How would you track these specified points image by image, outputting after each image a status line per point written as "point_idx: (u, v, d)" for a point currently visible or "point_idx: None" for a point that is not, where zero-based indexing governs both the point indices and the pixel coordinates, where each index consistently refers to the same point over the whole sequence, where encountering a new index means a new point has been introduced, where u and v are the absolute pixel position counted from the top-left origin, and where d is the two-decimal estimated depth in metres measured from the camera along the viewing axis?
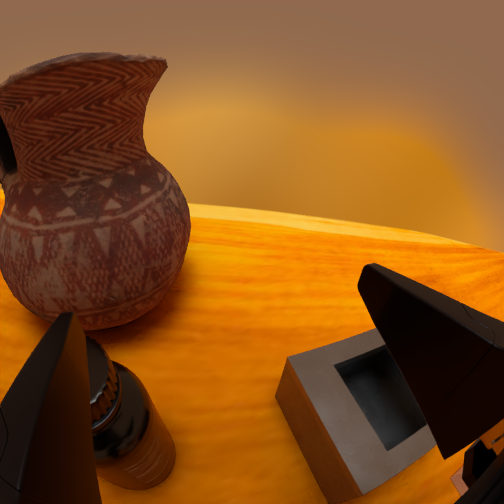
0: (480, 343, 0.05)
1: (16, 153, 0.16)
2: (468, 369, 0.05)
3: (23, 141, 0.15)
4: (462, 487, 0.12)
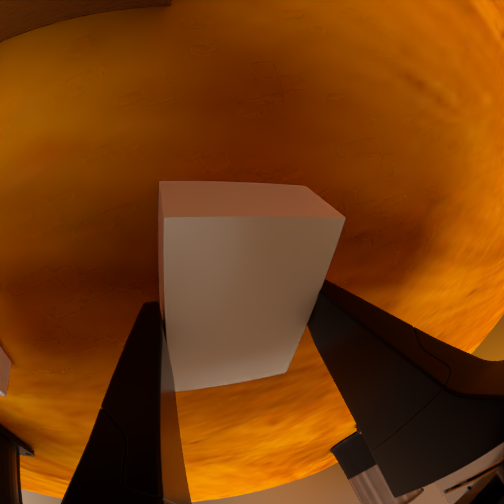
0: (429, 382, 0.04)
1: None
2: (414, 410, 0.05)
3: None
4: (160, 264, 0.06)
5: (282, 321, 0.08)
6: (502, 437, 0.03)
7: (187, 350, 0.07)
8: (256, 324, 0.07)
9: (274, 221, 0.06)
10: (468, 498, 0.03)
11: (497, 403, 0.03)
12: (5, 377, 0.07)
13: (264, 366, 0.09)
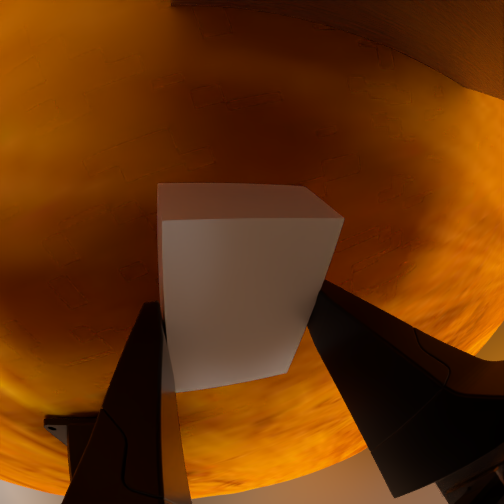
0: (429, 383, 0.04)
1: None
2: (414, 410, 0.05)
3: None
4: None
5: None
6: (502, 437, 0.03)
7: None
8: None
9: None
10: (468, 498, 0.03)
11: (497, 403, 0.03)
12: None
13: None
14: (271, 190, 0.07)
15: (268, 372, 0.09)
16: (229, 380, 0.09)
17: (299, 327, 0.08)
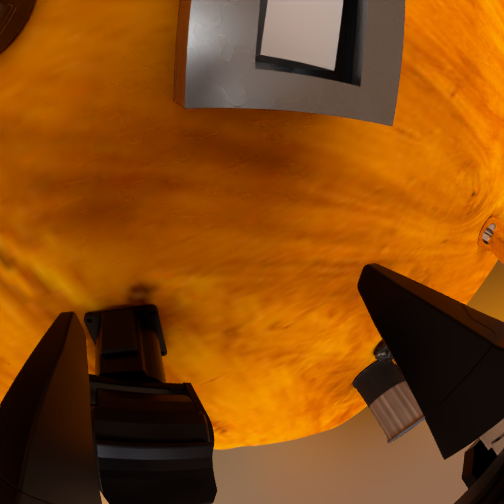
0: (480, 343, 0.05)
1: None
2: (468, 369, 0.05)
3: None
4: None
5: None
6: None
7: None
8: None
9: None
10: None
11: None
12: None
13: None
14: None
15: (321, 61, 0.11)
16: (298, 56, 0.11)
17: (336, 27, 0.10)
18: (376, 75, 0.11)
